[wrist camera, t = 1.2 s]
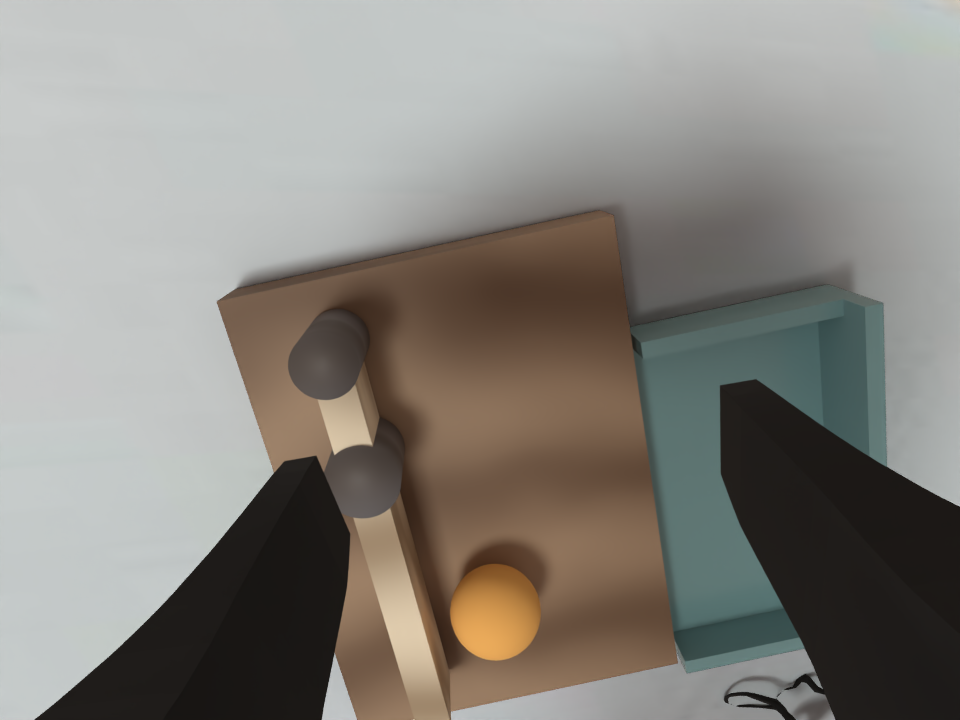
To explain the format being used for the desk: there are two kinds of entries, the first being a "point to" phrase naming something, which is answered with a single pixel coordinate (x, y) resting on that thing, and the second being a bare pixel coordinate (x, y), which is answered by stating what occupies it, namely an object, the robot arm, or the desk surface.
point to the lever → (374, 498)
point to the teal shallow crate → (696, 446)
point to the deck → (488, 447)
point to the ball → (495, 612)
